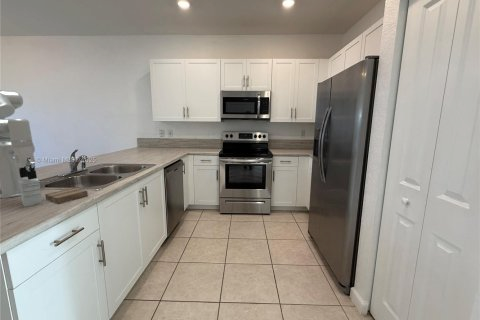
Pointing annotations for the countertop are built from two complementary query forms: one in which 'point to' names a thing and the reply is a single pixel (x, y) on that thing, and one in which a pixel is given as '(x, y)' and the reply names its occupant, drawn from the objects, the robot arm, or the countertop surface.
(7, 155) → the robot arm
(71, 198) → the block
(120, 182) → the countertop surface
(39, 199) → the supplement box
